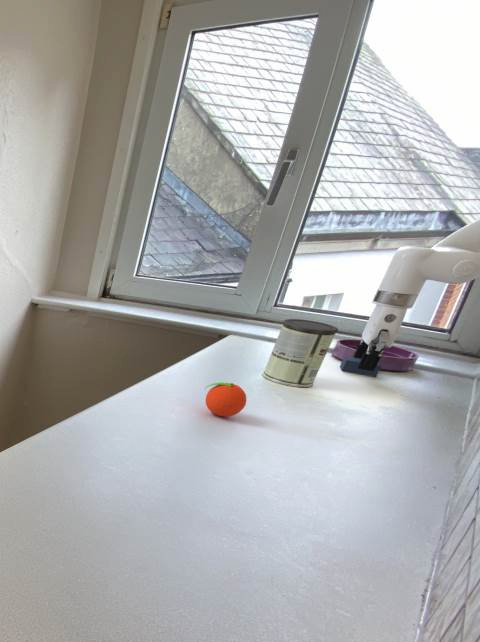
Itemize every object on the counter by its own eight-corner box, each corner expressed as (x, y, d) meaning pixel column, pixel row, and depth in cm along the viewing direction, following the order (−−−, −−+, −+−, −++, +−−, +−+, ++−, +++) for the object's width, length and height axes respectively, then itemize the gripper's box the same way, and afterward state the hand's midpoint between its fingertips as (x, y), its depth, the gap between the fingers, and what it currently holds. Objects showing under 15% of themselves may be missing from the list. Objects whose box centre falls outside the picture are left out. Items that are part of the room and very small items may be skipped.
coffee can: (265, 369, 142) (287, 316, 136) (314, 380, 136) (340, 325, 130) (258, 378, 136) (281, 323, 129) (309, 391, 129) (336, 333, 123)
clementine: (196, 416, 113) (208, 384, 110) (193, 404, 118) (204, 374, 115) (241, 425, 110) (255, 392, 107) (236, 412, 115) (249, 381, 112)
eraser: (373, 372, 144) (378, 361, 143) (376, 377, 141) (381, 366, 140) (339, 366, 148) (344, 355, 146) (341, 370, 144) (346, 360, 143)
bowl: (404, 361, 155) (411, 347, 153) (417, 377, 142) (425, 363, 140) (327, 348, 163) (333, 335, 162) (333, 362, 151) (340, 348, 149)
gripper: (422, 308, 127) (387, 377, 135) (407, 296, 140) (375, 359, 148) (380, 302, 131) (348, 370, 139) (369, 291, 144) (340, 353, 151)
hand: (362, 364), depth 143 cm, fingers open, 9 cm apart
